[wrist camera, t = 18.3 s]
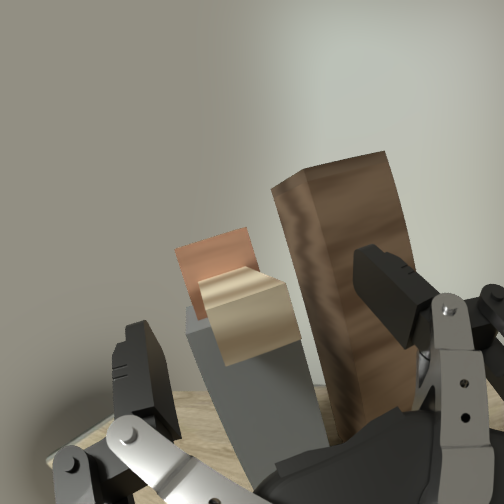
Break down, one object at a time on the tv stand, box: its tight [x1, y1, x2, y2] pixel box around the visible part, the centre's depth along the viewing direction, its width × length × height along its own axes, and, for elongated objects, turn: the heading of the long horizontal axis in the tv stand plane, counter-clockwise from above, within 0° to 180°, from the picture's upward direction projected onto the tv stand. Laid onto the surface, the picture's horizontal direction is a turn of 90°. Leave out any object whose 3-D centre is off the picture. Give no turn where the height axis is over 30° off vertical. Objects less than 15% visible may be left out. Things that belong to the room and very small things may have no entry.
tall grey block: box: [186, 305, 330, 490], centre depth 29 cm, size 10×8×23 cm
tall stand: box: [271, 151, 418, 443], centre depth 31 cm, size 10×8×32 cm
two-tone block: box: [175, 227, 302, 366], centre depth 23 cm, size 16×6×6 cm, turn 11°
